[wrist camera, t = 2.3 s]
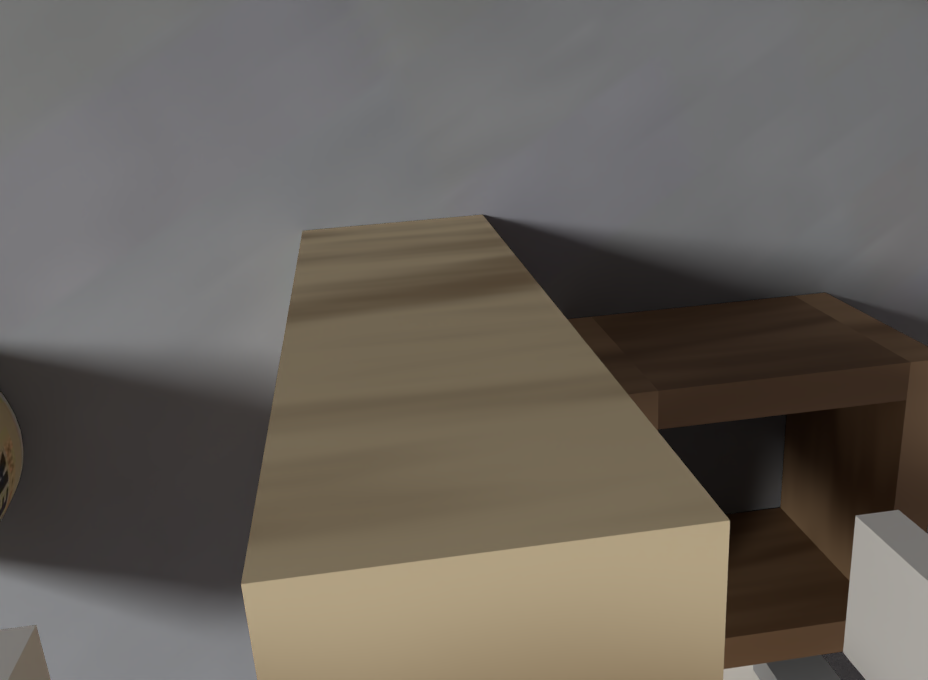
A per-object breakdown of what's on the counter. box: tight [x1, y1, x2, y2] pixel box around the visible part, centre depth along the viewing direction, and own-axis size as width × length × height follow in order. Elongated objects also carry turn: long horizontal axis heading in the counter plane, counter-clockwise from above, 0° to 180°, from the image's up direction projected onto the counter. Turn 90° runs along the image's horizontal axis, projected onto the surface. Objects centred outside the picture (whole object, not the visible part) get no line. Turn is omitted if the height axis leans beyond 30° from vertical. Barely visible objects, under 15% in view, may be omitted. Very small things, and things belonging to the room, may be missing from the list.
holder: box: [567, 293, 928, 669], centre depth 30 cm, size 10×10×7 cm
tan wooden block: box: [241, 215, 730, 680], centre depth 21 cm, size 6×6×20 cm
